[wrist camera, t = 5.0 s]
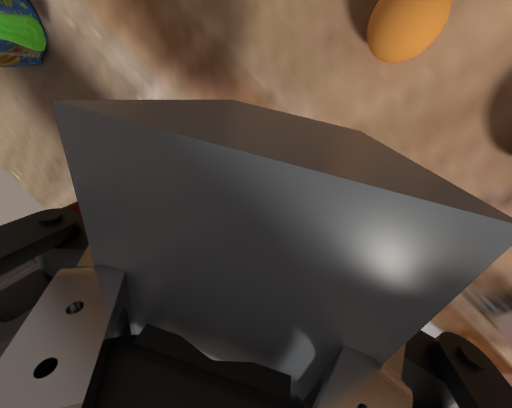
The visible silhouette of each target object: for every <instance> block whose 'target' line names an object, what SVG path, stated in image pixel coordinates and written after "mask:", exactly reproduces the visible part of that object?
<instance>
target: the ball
mask: <svg viewBox="0 0 512 408" xmlns="http://www.w3.org/2000/svg"><path fill="white" fill-rule="evenodd" d="M451 7H452V0H379V1H378V3H377V4H376V6H375V8H374V10H373V12H372V14H371V16H370V20H369V23H368V28H367V42H368V46H369V49H370V51H371V52H372V54H373V55H374V56H375V57H376V58H378V59H379V60H381V61H384V62H388V63H397V62H402V61H406V60H408V59H411V58H412V57H414V56H416V55H418V54H419V53H421V52H422V51H424V50H425V49H426V48H427V47H428V46H429V45H430V44H431V43H432V42H433V41H434V40H435V39H436V38H437V37H438V35H439V34H440V32H441V31H442V29H443V27H444V26H445V24H446V22H447V20H448V17H449V14H450V11H451Z"/></svg>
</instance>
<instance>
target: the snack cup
mask: <svg viewBox="0 0 512 408" xmlns="http://www.w3.org/2000/svg"><path fill="white" fill-rule="evenodd" d="M46 44H47V43H46V34H45V31H44V29H43V28H42V26H41V23H40V20H39V18H38V16H37V14H36V12H35V11H34V9H33V7H32V6H31V5H30V3H29V2H28V1H27V0H0V67H15V66H30V65H35V64H40V63H41V58H42V56H43V54H44V51H45V47H46Z"/></svg>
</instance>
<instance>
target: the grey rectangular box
mask: <svg viewBox="0 0 512 408" xmlns="http://www.w3.org/2000/svg"><path fill="white" fill-rule="evenodd" d="M51 102H52V106H53V110H54V113H55V117H56V121H57V125H58V129H59V132H60V136H61V140H62V144H63V148H64V151H65V155H66V159H67V163H68V166H69V170H70V174H71V178H72V182H73V185H74V189H75V193H76V197H77V201H78V204H79V208H80V212H81V216H82V220H83V223H84V227H85V231H86V235H87V238H88V242H89V246H90V250H91V254H92V257H93V261H94V265H105V266H111V267H115V268H119V269H122V270H125V271H126V277H127V283H128V290H129V296H130V302H131V308H132V315H133V321H134V327H135V333H136V335H139V334H140V332H141V331H142V329H143V328H144V327H145V325H146V324H150V325H153V326H155V327H158V328H161V329H164V330H166V331H169V332H172V333H175V334H177V335H180V336H182V337H183V338H184V339H185V340H187V341H188V342H189V343H191V344H192V345H193V346H194V347H196V348H197V349H198V350H200V351H201V352H202V353H204V354H205V355H206V356H207V357H209V358H210V359H212V360H216V361H237V362H255V363H257V364H260V365H263V366H266V367H268V368H271V369H274V370H277V371H279V372H282V373H285V374H288V375H290V376H291V388H290V390H291V391H292V392H294V393H295V394H296V395H297V396H298V397H299V398H300V399H301V398H302V397H303V395H304V394H305V393H306V392H307V391H308V389H309V388H310V387H311V386H312V384H313V383H314V382H315V381H316V379H317V378H318V377H319V376H320V374H321V373H322V372H323V371H324V369H325V368H326V367H327V366H328V365H329V363H330V362H331V361H332V360H333V358H334V357H335V356H336V355H337V353H338V352H339V351H340V350H341V348H342V347H343V346H344V345H345V346H348V347H351V348H353V349H356V350H358V351H360V352H362V353H364V354H366V355H368V356H370V357H372V358H374V359H375V360H377V361H378V362H380V363H381V364H382V365H383V364H384V363H385V362H386V361H387V360H388V359H389V358H390V357H391V356H392V355H393V354H395V353H396V352H397V351H398V350H399V349H400V348H401V347H402V346H403V345H404V344H405V343H406V342H408V341H409V340H410V339H411V338H412V337H413V336H414V335H415V334H416V333H417V332H418V331H419V330H421V329H422V328H423V327H424V326H425V325H426V324H427V323H428V322H429V321H430V320H431V319H432V318H434V317H435V316H436V315H437V314H438V313H439V312H440V311H441V310H442V309H443V308H444V307H445V306H447V305H448V304H449V303H450V302H451V301H452V300H453V299H454V298H455V297H456V296H457V295H458V294H460V293H461V292H462V291H463V290H464V289H465V288H466V287H467V286H468V285H469V284H470V283H471V282H473V281H474V280H475V279H476V278H477V277H478V276H479V275H480V274H481V273H482V272H483V271H484V270H486V269H487V268H488V267H489V266H490V265H491V264H492V263H493V262H494V261H495V260H496V259H497V258H499V257H500V256H501V255H502V254H503V253H504V252H505V251H506V250H507V249H508V248H509V247H510V246H512V217H510V216H508V215H506V214H505V213H503V212H501V211H499V210H498V209H496V208H494V207H492V206H491V205H489V204H487V203H485V202H484V201H482V200H480V199H478V198H477V197H475V196H473V195H471V194H470V193H468V192H466V191H464V190H463V189H461V188H459V187H457V186H456V185H454V184H452V183H450V182H449V181H447V180H445V179H443V178H442V177H440V176H438V175H436V174H435V173H433V172H431V171H429V170H428V169H426V168H424V167H422V166H421V165H419V164H417V163H415V162H414V161H412V160H410V159H408V158H407V157H405V156H403V155H401V154H400V153H398V152H396V151H394V150H393V149H391V148H389V147H387V146H386V145H384V144H382V143H380V142H379V141H377V140H375V139H373V138H372V137H370V136H368V135H366V134H365V133H363V132H361V131H358V130H354V129H350V128H346V127H341V126H337V125H333V124H329V123H325V122H321V121H317V120H313V119H309V118H305V117H301V116H297V115H292V114H288V113H284V112H280V111H276V110H272V109H268V108H264V107H260V106H256V105H252V104H247V103H243V102H239V101H235V100H51Z"/></svg>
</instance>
